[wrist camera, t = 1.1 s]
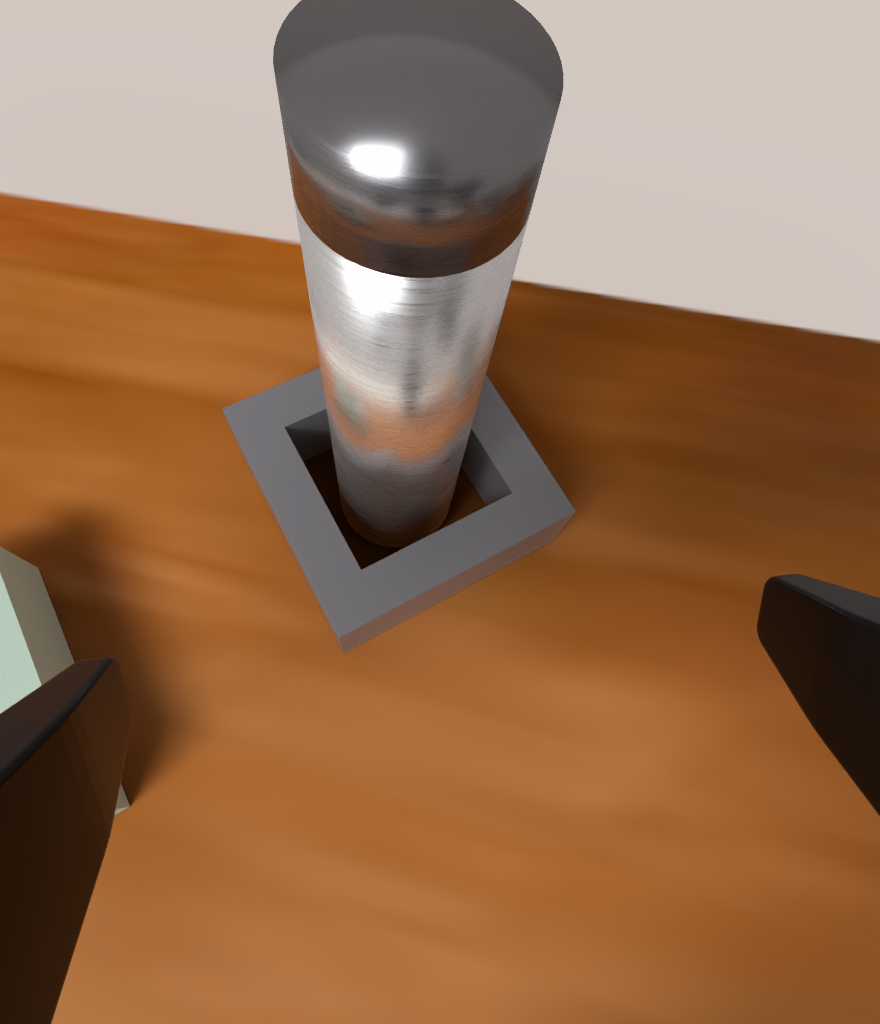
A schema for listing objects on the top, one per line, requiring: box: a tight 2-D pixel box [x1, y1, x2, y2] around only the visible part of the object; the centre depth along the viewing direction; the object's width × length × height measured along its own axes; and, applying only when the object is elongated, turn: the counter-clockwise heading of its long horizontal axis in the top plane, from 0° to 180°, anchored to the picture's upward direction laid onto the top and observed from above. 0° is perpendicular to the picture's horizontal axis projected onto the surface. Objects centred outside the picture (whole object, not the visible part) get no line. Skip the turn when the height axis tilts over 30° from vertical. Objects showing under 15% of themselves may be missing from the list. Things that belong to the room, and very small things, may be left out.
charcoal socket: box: [222, 368, 576, 653], centre depth 23 cm, size 8×8×3 cm
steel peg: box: [273, 0, 563, 547], centre depth 17 cm, size 4×4×16 cm
